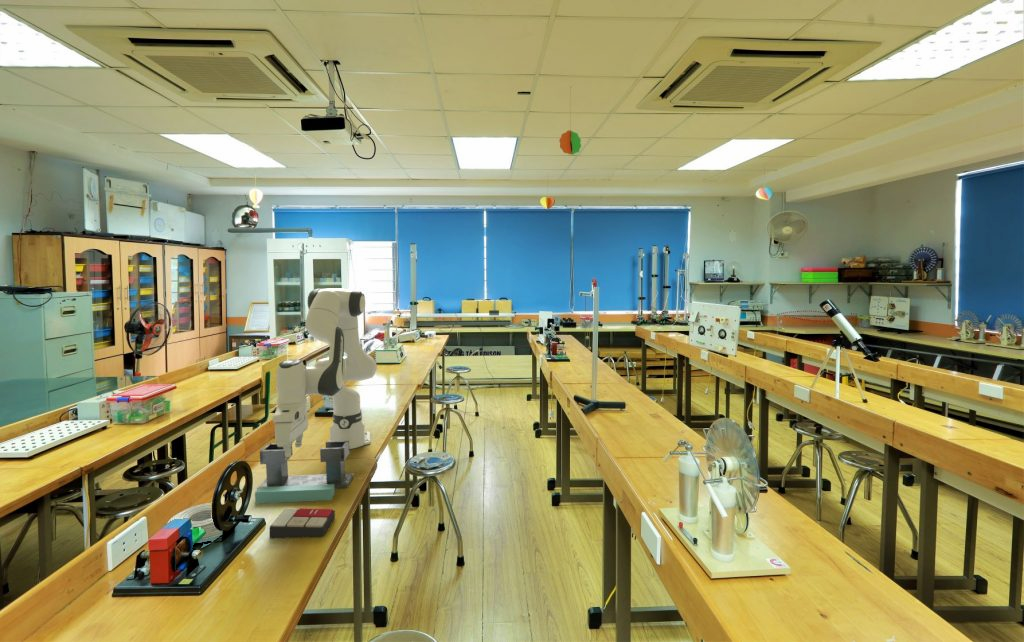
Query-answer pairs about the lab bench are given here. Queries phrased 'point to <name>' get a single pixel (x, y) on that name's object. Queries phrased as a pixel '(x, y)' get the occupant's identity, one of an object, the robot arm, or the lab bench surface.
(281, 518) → the large key keypad
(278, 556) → the lab bench surface
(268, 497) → the rail
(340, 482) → the bracket stand
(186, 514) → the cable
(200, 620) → the lab bench surface
